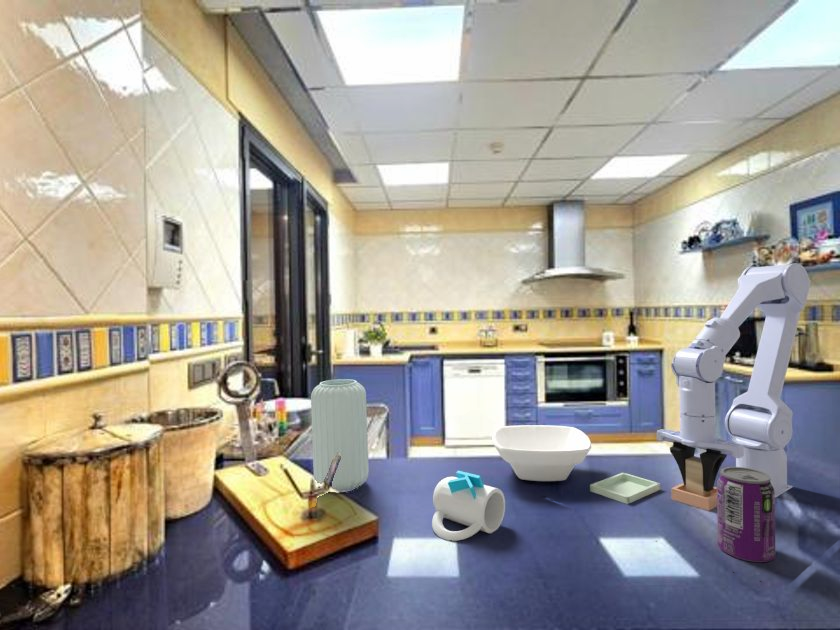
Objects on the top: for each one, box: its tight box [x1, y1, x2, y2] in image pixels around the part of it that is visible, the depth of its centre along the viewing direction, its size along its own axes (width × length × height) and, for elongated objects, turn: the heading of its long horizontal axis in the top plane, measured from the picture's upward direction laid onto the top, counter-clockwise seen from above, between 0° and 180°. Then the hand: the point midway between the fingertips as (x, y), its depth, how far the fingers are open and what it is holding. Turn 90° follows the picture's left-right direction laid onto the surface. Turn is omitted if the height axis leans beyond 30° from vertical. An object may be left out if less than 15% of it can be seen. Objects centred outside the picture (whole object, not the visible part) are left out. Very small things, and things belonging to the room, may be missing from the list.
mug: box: [431, 470, 506, 542], centre depth 84 cm, size 12×9×12 cm
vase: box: [310, 378, 370, 491], centre depth 104 cm, size 12×12×22 cm
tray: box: [589, 472, 661, 505], centre depth 96 cm, size 11×8×2 cm
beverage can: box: [716, 466, 776, 563], centre depth 72 cm, size 7×7×12 cm
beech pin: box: [686, 455, 711, 497], centre depth 91 cm, size 3×3×8 cm
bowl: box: [491, 424, 592, 482], centre depth 107 cm, size 21×21×9 cm
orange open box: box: [670, 483, 717, 512], centre depth 91 cm, size 7×7×3 cm
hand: (698, 487), depth 91 cm, fingers closed on beech pin, 3 cm apart
